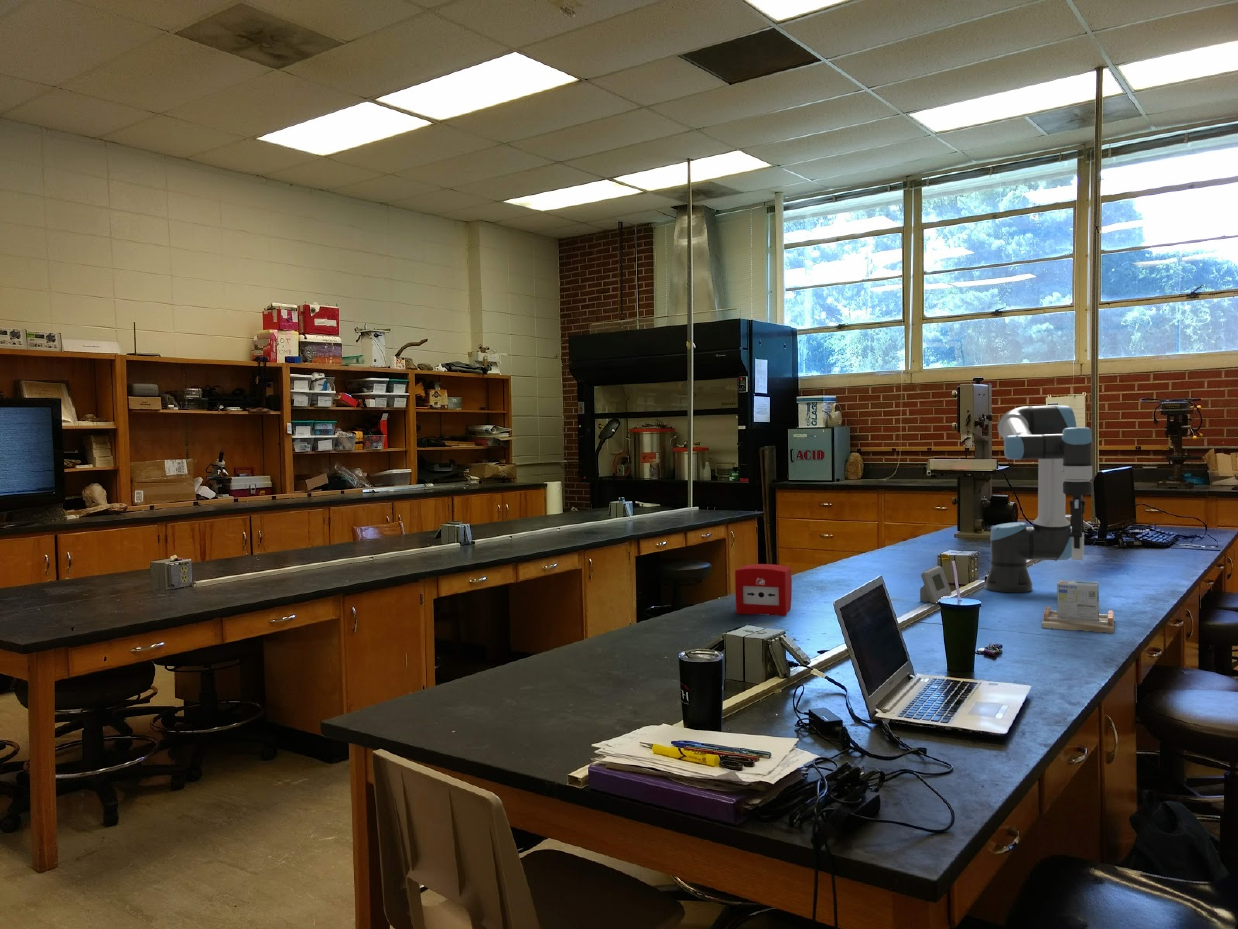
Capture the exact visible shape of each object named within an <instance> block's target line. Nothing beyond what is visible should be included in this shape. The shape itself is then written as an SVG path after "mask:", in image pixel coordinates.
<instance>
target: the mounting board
mask: <svg viewBox="0 0 1238 929" xmlns="http://www.w3.org/2000/svg"><path fill="white" fill-rule="evenodd" d="M1050 617H1056V618H1058V614H1050ZM1098 621H1108V618H1101V617H1099V620H1098ZM1041 628H1042V629H1051V628H1053V630H1066V631H1077V630H1084V631H1083V632H1089V631H1095V632H1094V633H1102V632H1106V633H1105V634H1114V633H1115V632H1114V631H1115V630H1114V629H1115V615H1114V614H1113V625H1103V624H1090V623H1076V622H1063V621H1050V620H1044V617H1043V619H1042V621H1041Z"/></svg>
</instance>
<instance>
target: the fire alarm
mask: <svg viewBox="0 0 1238 929" xmlns="http://www.w3.org/2000/svg"><path fill="white" fill-rule="evenodd" d="M734 571H735V572H734V577H735V578H734V580H735V582H734V585H735V589H734V590H735V610H736V611H735V613H736V614H737V615H738V614H739V615H753V614H769V615H768V616H772V615H779V616H778V617H787V616H786V615H788V613H789V612H790V611H791V610H790V609H792V594H793V593H792V592H793V590H792V589H793V586H792V584H793V580H792V567H791V566H786V565H780V564H771V563H767V564H766V563H756V564H755V563H754V564H753V563H752V564H749V565H748V564H747V565H743V566H741V567H739V568H738V569H735V570H734ZM789 610H790V611H789ZM788 611H789V612H788Z"/></svg>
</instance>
